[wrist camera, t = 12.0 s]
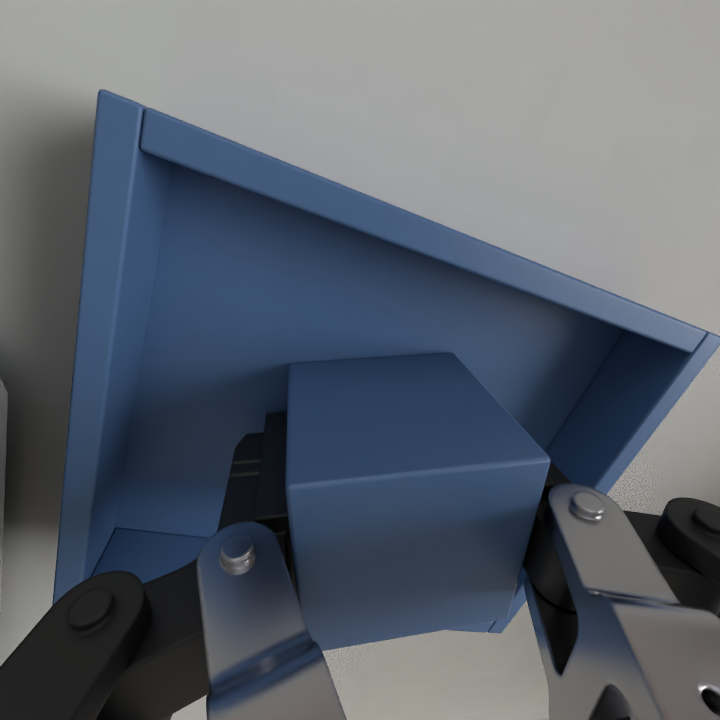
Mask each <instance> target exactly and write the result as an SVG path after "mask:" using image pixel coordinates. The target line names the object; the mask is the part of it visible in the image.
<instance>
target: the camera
mask: <svg viewBox="0 0 720 720" xmlns="http://www.w3.org/2000/svg"><path fill="white" fill-rule="evenodd" d="M7 407H8V392H7V390H6V388H5V386H4V384H3V382H2V380H1V378H0V613H1V584H2V554H3V525H4V495H5V466H6V437H7Z"/></svg>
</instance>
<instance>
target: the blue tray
mask: <svg viewBox="0 0 720 720" xmlns="http://www.w3.org/2000/svg"><path fill="white" fill-rule="evenodd" d="M719 345H720V336H718V335H716V334H713V333H711V332H708V331H705V330H703V329H701V328H698V327H696V326H693V325H691V324H688V323H686V322H683V321H681V320H678V319H676V318H673V317H671V316H668V315H666V314H663V313H661V312H658V311H656V310H653V309H651V308H648V307H646V306H643V305H641V304H638V303H636V302H633V301H631V300H628V299H626V298H623V297H621V296H618V295H616V294H613V293H611V292H608V291H606V290H603V289H601V288H598V287H596V286H593V285H591V284H588V283H586V282H583V281H581V280H578V279H576V278H573V277H571V276H568V275H566V274H563V273H561V272H558V271H556V270H553V269H551V268H548V267H546V266H543V265H541V264H538V263H536V262H533V261H531V260H528V259H526V258H523V257H521V256H518V255H516V254H514V253H511V252H509V251H506V250H504V249H501V248H499V247H496V246H494V245H491V244H489V243H486V242H484V241H481V240H479V239H476V238H474V237H471V236H469V235H466V234H464V233H461V232H459V231H456V230H454V229H451V228H449V227H446V226H444V225H441V224H439V223H436V222H434V221H431V220H429V219H426V218H424V217H421V216H419V215H416V214H414V213H411V212H409V211H406V210H404V209H401V208H399V207H396V206H394V205H391V204H389V203H386V202H384V201H381V200H379V199H376V198H374V197H371V196H369V195H366V194H364V193H361V192H359V191H356V190H354V189H351V188H349V187H346V186H344V185H341V184H339V183H336V182H334V181H331V180H329V179H326V178H324V177H321V176H319V175H316V174H314V173H311V172H309V171H306V170H304V169H301V168H299V167H296V166H294V165H291V164H289V163H286V162H284V161H281V160H279V159H276V158H274V157H272V156H269V155H267V154H264V153H262V152H259V151H257V150H254V149H252V148H249V147H247V146H244V145H242V144H239V143H237V142H234V141H232V140H229V139H227V138H224V137H222V136H219V135H217V134H214V133H212V132H209V131H207V130H204V129H202V128H199V127H197V126H194V125H192V124H189V123H187V122H184V121H182V120H179V119H177V118H174V117H172V116H169V115H167V114H164V113H162V112H159V111H157V110H154V109H152V108H147V107H145V106H143V105H141V104H139V103H137V102H134V101H132V100H129V99H127V98H124V97H122V96H119V95H117V94H114V93H112V92H109V91H107V90H99V92H98V97H97V109H96V120H95V131H94V142H93V154H92V165H91V176H90V188H89V199H88V210H87V221H86V233H85V244H84V255H83V266H82V278H81V289H80V300H79V312H78V323H77V334H76V345H75V357H74V368H73V379H72V390H71V402H70V413H69V424H68V436H67V447H66V458H65V469H64V481H63V492H62V503H61V514H60V526H59V537H58V548H57V560H56V571H55V582H54V593H53V605H54V604H55V603H56V602H57V601H58V600H59V599H60V598H61V597H62V596H63V595H64V594H65V593H66V592H68V591H69V590H70V589H72V588H73V587H74V586H76V585H78V584H79V583H81V582H83V581H84V580H86V579H88V578H90V577H93V576H95V575H98V574H101V573H104V572H108V571H116V570H120V571H128V572H131V573H133V574H135V575H136V576H137V577H139V578H140V580H141V582H142V583H143V584H144V583H146V582H148V581H151V580H153V579H156V578H158V577H161V576H163V575H166V574H168V573H170V572H173V571H175V570H177V569H180V568H182V567H184V566H185V565H187V564H189V563H190V562H192V561H193V560H195V559H196V558H197V557H198V555H199V552H200V550H201V548H202V547H203V545H204V544H205V543H206V541H207V540H208V539H209V538H210V537H211V536H212V535H214V534H215V533H216V532H217V529H218V525H219V520H220V516H221V511H222V506H223V502H224V497H225V492H226V488H227V483H228V478H229V474H230V469H231V465H232V460H233V455H234V450H235V447H236V446H237V444H238V443H239V442H240V441H241V440H242V438H243V437H244V436H245V435H246V434H249V433H260V432H264V427H265V418H266V413H270V412H282V411H287V399H288V367H289V364H292V363H306V362H321V361H336V360H351V359H366V358H382V357H397V356H412V355H427V354H443V353H454V354H455V355H456V356H457V357H458V358H459V359H460V360H461V361H462V362H463V363H464V364H465V366H466V367H467V368H468V369H469V370H470V371H471V372H472V373H473V374H474V375H475V376H476V378H477V379H478V380H479V381H480V382H481V383H482V384H483V385H484V386H485V387H486V388H487V389H488V391H489V392H490V393H491V394H492V395H493V396H494V397H495V398H496V399H497V400H498V401H499V403H500V404H501V405H502V406H503V407H504V408H505V409H506V410H507V411H508V412H509V413H510V415H511V416H512V417H513V418H514V419H515V420H516V421H517V422H518V423H519V424H520V425H521V426H522V428H523V429H524V430H525V431H526V432H527V433H528V434H529V435H530V436H531V437H532V438H533V440H534V441H535V442H536V443H537V444H538V445H539V446H540V447H541V448H542V449H543V450H544V452H545V453H546V454H547V455H548V456H549V458H550V460H551V461H552V462H553V463H554V464H555V465H556V466H557V467H558V469H559V470H560V471H561V472H562V473H563V474H564V475H565V476H566V477H567V478H568V480H569V481H570V482H571V483H577V484H582V485H586V486H589V487H592V488H594V489H596V490H599V491H600V492H602V493H604V494H607V493H608V492H609V490H610V489H611V488H612V486H613V485H614V484H615V483H616V481H617V480H618V479H619V477H620V476H621V475H622V473H623V472H624V471H625V469H626V468H627V467H628V465H629V464H630V463H631V461H632V460H633V459H634V457H635V456H636V455H637V454H638V452H639V451H640V450H641V448H642V447H643V446H644V444H645V443H646V442H647V440H648V439H649V438H650V436H651V435H652V434H653V432H654V431H655V430H656V428H657V427H658V426H659V424H660V423H661V422H662V421H663V419H664V418H665V417H666V415H667V414H668V413H669V411H670V410H671V409H672V407H673V406H674V405H675V403H676V402H677V401H678V399H679V398H680V397H681V395H682V394H683V393H684V392H685V390H686V389H687V388H688V386H689V385H690V384H691V382H692V381H693V380H694V378H695V377H696V376H697V374H698V373H699V372H700V370H701V369H702V368H703V366H704V365H705V364H706V363H707V361H708V360H709V359H710V357H711V356H712V355H713V353H714V352H715V351H716V349H717V348H718V347H719ZM526 574H527V573H526V571H525V569H524V568H523V566H522V569H521V572H520V576H519V580H518V583H517V587H516V591H515V594H514V598H513V602H512V605H511V609H510V613H509V616H508V618H507V619H505V620H499V621H493V622H487V623H482V624H476V625H470V626H464V627H458V628H453V629H447V630H454V631H471V632H489V633H502V632H503V630H504V629H505V628H506V626H507V625H508V624H509V622H510V621H511V620H512V618H513V617H514V616H515V614H516V613H517V612H518V610H519V609H520V608H521V606H522V605H523V604H524V603H525V601H526V600H527V599H526V595H525V590H524V581H525V577H526ZM53 605H52V606H53Z"/></svg>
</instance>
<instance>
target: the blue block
mask: <svg viewBox="0 0 720 720" xmlns="http://www.w3.org/2000/svg"><path fill="white" fill-rule="evenodd" d="M549 466H550V458H549V456H548V455H547V454H546V453H545V452H544V450H543V449H542V448H541V447H540V446H539V445H538V444H537V443H536V442H535V441H534V440H533V438H532V437H531V436H530V435H529V434H528V433H527V432H526V431H525V430H524V429H523V428H522V426H521V425H520V424H519V423H518V422H517V421H516V420H515V419H514V418H513V417H512V416H511V415H510V413H509V412H508V411H507V410H506V409H505V408H504V407H503V406H502V405H501V404H500V403H499V401H498V400H497V399H496V398H495V397H494V396H493V395H492V394H491V393H490V392H489V391H488V389H487V388H486V387H485V386H484V385H483V384H482V383H481V382H480V381H479V380H478V379H477V378H476V376H475V375H474V374H473V373H472V372H471V371H470V370H469V369H468V368H467V367H466V366H465V364H464V363H463V362H462V361H461V360H460V359H459V358H458V357H457V356H456V355H455V354H454V353H443V354H427V355H412V356H397V357H382V358H366V359H351V360H336V361H321V362H306V363H292V364H289V367H288V399H287V437H286V476H285V492H286V501H287V510H288V519H289V529H290V538H291V547H292V556H293V566H294V575H295V584H296V593H297V599H298V602H299V605H300V608H301V610H302V613H303V616H304V619H305V622H306V625H307V628H308V631H309V633H310V636H311V638H312V640H313V641H316V642H317V643H318V645H319V646H320V649H321V651H325V650H331V649H336V648H342V647H348V646H354V645H360V644H365V643H371V642H377V641H383V640H389V639H394V638H400V637H406V636H412V635H418V634H424V633H429V632H435V631H441V630H447V629H453V628H458V627H464V626H470V625H476V624H482V623H487V622H493V621H499V620H505V619H507V618H508V616H509V613H510V609H511V605H512V602H513V598H514V594H515V591H516V587H517V583H518V580H519V576H520V572H521V569H522V565H523V561H524V558H525V554H526V550H527V547H528V543H529V539H530V535H531V532H532V528H533V524H534V521H535V517H536V513H537V510H538V506H539V502H540V499H541V495H542V491H543V488H544V484H545V480H546V477H547V473H548V469H549Z"/></svg>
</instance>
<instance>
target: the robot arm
mask: <svg viewBox="0 0 720 720" xmlns="http://www.w3.org/2000/svg"><path fill="white" fill-rule="evenodd" d="M286 437H287V411H282V412H270V413H266V418H265V427H264V432H260V433H249V434H246V435H245V436H244V437H243V438H242V440H241V441H240V442H239V443H238V444H237V446H236V447H235V450H234V455H233V460H232V465H231V469H230V474H229V478H228V483H227V488H226V492H225V497H224V502H223V506H222V511H221V516H220V520H219V525H218V529H217V532H216V533H215V534H214V535H212V536H211V537H210V538H209V539H208V540H207V541H206V543H205V544H204V545H203V547H202V548H201V550H200V552H199V555H198V557H197V558H196V559H195V560H193V561H192V562H190V563H189V564H187V565H185V566H184V567H182V568H180V569H177V570H175V571H173V572H170V573H168V574H166V575H163V576H161V577H158V578H156V579H153V580H151V581H148V582H146V583H144V584H143V583H142V582H141V580H140V578H139V577H137V576H136V575H135V574H133V573H131V572H128V571H120V570H116V571H108V572H104V573H101V574H98V575H95V576H93V577H90V578H88V579H86V580H84V581H83V582H81V583H79V584H78V585H76V586H74V587H73V588H72V589H70V590H69V591H68V592H66V593H65V594H64V595H63V596H62V597H61V598H60V599H59V600H58V601H57V602H56V603H55V604H54V605H53V606H52V607H51V608H50V609H49V611H48V612H47V613H46V614H45V615H44V616H43V618H42V619H41V620H40V621H39V622H38V623H37V625H36V626H35V627H34V628H33V629H32V630H31V632H30V633H29V634H28V635H27V636H26V637H25V639H24V640H23V641H22V642H21V643H20V644H19V646H18V647H17V648H16V649H15V650H14V651H13V653H12V654H11V655H10V656H9V657H8V658H7V660H6V661H5V662H4V663H3V664H2V665H1V667H0V720H170V719H171V717H172V714H173V713H175V712H176V711H178V710H180V709H182V708H184V707H185V706H187V705H189V704H191V703H193V702H194V701H196V700H198V699H200V698H201V697H203V696H205V695H207V694H208V695H207V698H206V710H207V720H347V719H346V717H345V714H344V711H343V708H342V705H341V702H340V700H339V697H338V694H337V691H336V688H335V686H334V683H333V680H332V677H331V674H330V672H329V669H328V666H327V663H326V661H325V658H324V655H323V653H322V651H321V649H320V646H319V645H318V643H317V642H316V641H313V640H312V638H311V636H310V633H309V631H308V628H307V625H306V622H305V619H304V616H303V613H302V610H301V608H300V605H299V602H298V599H297V593H296V584H295V575H294V566H293V556H292V547H291V538H290V529H289V519H288V510H287V501H286V492H285V476H286ZM522 566H523V568H524V569H525V571H526V573H527V574H526V577H525V581H524V590H525V595H526V599H527V603H528V606H529V610H530V614H531V618H532V622H533V626H534V630H535V634H536V638H537V642H538V646H539V650H540V654H541V658H542V661H543V665H544V669H545V673H546V677H547V682H548V688H549V720H720V507H718V506H715V505H713V504H710V503H708V502H705V501H701V500H697V499H693V498H675V499H672V500H670V501H669V502H668V503H667V505H666V507H665V509H664V511H663V513H662V515H661V516H659V515H652V514H645V513H638V512H630V511H624V510H622V509H621V508H620V506H619V505H618V504H617V503H616V502H615V501H614V500H612V499H611V498H610V497H609V496H607V495H606V494H604V493H602V492H600V491H599V490H596V489H594V488H592V487H589V486H586V485H582V484H577V483H571V482H570V481H569V480H568V478H567V477H566V476H565V475H564V474H563V473H562V472H561V471H560V470H559V469H558V467H557V466H556V465H555V464H554V463H553V462H552V461H551V460H550V466H549V469H548V473H547V477H546V480H545V484H544V488H543V491H542V495H541V499H540V502H539V506H538V510H537V513H536V517H535V521H534V524H533V528H532V532H531V535H530V539H529V543H528V547H527V550H526V554H525V558H524V561H523V565H522Z"/></svg>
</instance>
